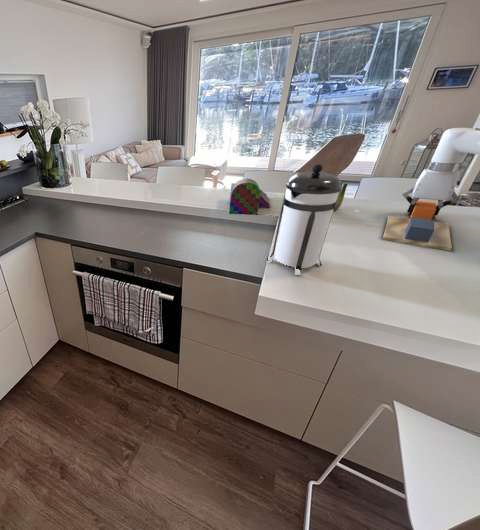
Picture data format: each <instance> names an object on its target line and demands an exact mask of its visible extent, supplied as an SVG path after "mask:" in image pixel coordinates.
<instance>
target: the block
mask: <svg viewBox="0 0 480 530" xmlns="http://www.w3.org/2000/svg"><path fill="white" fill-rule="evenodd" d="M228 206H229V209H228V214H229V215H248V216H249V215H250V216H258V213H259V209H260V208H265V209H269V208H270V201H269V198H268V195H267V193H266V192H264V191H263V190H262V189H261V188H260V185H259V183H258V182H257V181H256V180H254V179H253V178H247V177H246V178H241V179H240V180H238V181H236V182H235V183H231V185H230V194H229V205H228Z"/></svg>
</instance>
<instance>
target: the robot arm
mask: <svg viewBox="0 0 480 530" xmlns="http://www.w3.org/2000/svg"><path fill="white" fill-rule="evenodd" d="M467 154H473V155H478V156H480V130H476V129H475V128H471V127H452V128H448V129H446V130H445V131H444V132H443V133H442V136H441V138H440V140H439V142H438V144H437V147H436V149H435V152H434V154H433V155H432V158H431V160H430V162H429V165H428V167H427V168H424V169H423V171H422V172H421V173H420V175H419V177H418V179H417V180H416V183H415V184H414V186H413V187H411V188H409V189H408V190H406V191H404V192H402V193H401V195H402V197H403V198H404V199H406V201H407V202H408V203H409V206H408V209H407V211H406V212H407V213H408V216H411V214H412V212H413V210H414V207H415V203H416V202H417V201H420V199H421V200H422V199H424V200H433V201H437V204H436V211H435V213H434V215H433V217H432V219H434V218H435V216H438V215H439V213H440V211H441V209H443V208H444V207H447V206H449V205H451V204H454V203H457V202H459V201H460V200H461V199H460V196H459V195H458V194H457V193H456V191H455V189H456V186H457V184H458V181H459V177H460V175H461V171H460V170H462V169H466V168H467V167H468V164H465V163H463V162H464V160H465V158H466V156H467ZM410 194H411V195H410Z"/></svg>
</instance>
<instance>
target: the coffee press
mask: <svg viewBox="0 0 480 530" xmlns="http://www.w3.org/2000/svg"><path fill="white" fill-rule="evenodd" d="M322 170H323V166H322V164H320V163H315V164H314V165H313V166H312V167H311V171H305V172H304V171H303V172H299V173H296V174H294V175H292V176H291V177H290V178H289V180H288V181H286V183H285V188H286V190H285V194H284V196H283V200H282V206H281V209H280V214H279V218H278V223H277V228H276V234H275V239H274V242H273V248H272V251H271V254H270V255H271V256H270V255H269V256H270V257H271V258H272V257H273V259H274V258H275V259H276V260H275V261H276V262H278V263H279V262H280V263H279V264H281V263H282V264H281V265H283V264H284V265H283V266H286V265H287V266H286V267H289V266H291V267H290V268H294V267H296V269H299V270H301V271H302V269H306V268H310V267H313V266H316V267H317V268H318V267H322V266H323V263H322V261H321V260H320V257H321V253H322V250H323V247H324V243H325V241H326V237H327V234H328V231H329V228H330V224H331V221H332V217H333V214H334V211H335V210H334V208H335V206H336V203H337V196H338V193H339V192H340V191H341V190H342V187H343V184H341V182H342V181H341V179H340V178H339V177H338V176H337V175H334V174H332V173H328V172H323V171H322ZM266 261H268V257H267V258H266ZM318 261H319V263H318ZM321 263H322V264H321Z"/></svg>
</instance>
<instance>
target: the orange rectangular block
mask: <svg viewBox="0 0 480 530" xmlns="http://www.w3.org/2000/svg"><path fill="white" fill-rule="evenodd" d="M436 206H437V203H436V202H433V201H423V200H418V201H417V202H416V203H415V207H414V210H413V212H412V214H411V215H410V216H409V217H410V219H411V217H413V218H421V219H428V220H433V218H432V217H433V215H434V213H435V211H436Z"/></svg>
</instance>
